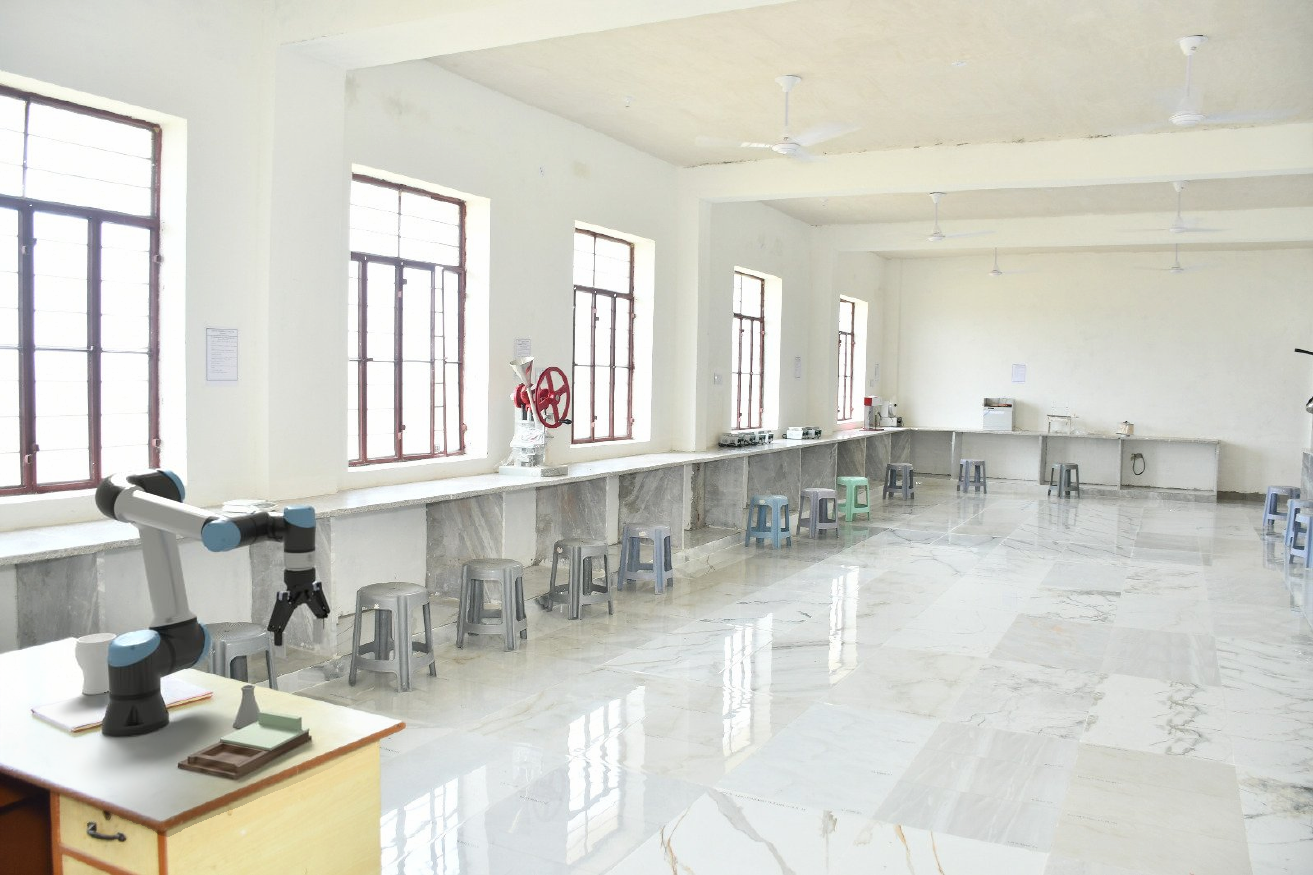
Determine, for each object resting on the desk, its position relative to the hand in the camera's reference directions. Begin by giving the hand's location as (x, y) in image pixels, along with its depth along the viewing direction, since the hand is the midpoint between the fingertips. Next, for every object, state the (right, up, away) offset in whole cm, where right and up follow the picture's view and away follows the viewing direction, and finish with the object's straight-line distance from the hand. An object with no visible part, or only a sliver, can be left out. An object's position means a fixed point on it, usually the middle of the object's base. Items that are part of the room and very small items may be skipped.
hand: (299, 650), depth 247 cm
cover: (-5, -19, -9) cm, 21 cm away
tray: (-8, -22, -13) cm, 26 cm away
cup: (-67, -18, +28) cm, 75 cm away
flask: (-15, -20, +5) cm, 26 cm away
